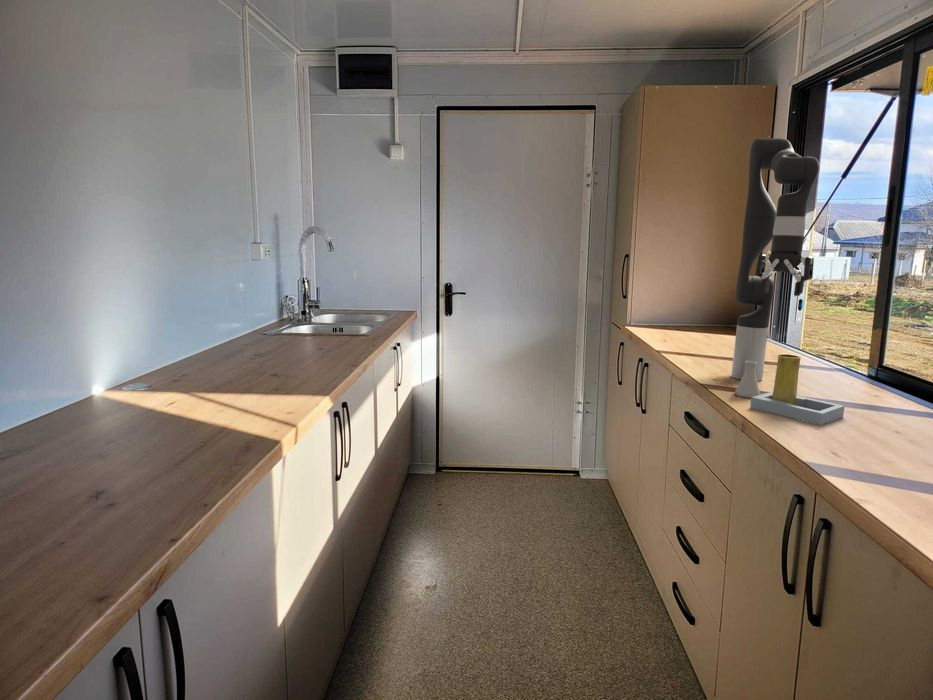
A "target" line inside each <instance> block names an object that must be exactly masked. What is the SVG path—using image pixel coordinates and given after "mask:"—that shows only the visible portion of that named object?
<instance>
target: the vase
mask: <svg viewBox="0 0 933 700" xmlns="http://www.w3.org/2000/svg"><path fill="white" fill-rule="evenodd" d="M800 364H801V356H799V355H796V354H792V353H779V354H778V357H777V363H776V369H775V370H776V371H775V379H774V384H773V390H772V392H773V395H772V399H773V400H778V401H782V402H786V403H791V405H795V404H796V395H797V394H798V393H797V392H798V383H799V372H800V371H799V370H800ZM797 396H798V395H797Z"/></svg>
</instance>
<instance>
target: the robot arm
mask: <svg viewBox="0 0 933 700" xmlns="http://www.w3.org/2000/svg"><path fill="white" fill-rule="evenodd" d="M748 164H749V168H748V187H747V198H746V204H745V205H746V206H745V211H744V219H743V231H742V243H741V244H742V245H741V246H742V247H741V256H740V263H739V269H738V275H737V280H736V286H735V301H736V302H737V305H738V304H740V305H746V306H747V305H751V306H758V308H756V310H754V311H752V312H750V313H746V314H742V315H739V316H738V318H737V321H736V331H735V340H734V349H733V358H732V367H731V374H730V375H731V376H730V377H731V378H733V379H737V380H740V381H741V379H742V377H743V375H744V371H745V367H746V364H745V361H753V362H757V364H756V366H755V374H756V379H757V382H760V381H762V380H763V376H764V369H765V359H766V352H767V351H766V350H767V343H768V342H767V341H768V333H769V325H770V317H771V310H772V304H773V300H774V294H775V280H774V278H773V277H772V276H773V275H774V274H775V273H777V272H778V273H779V272H783V273H791V274H790V275H792V276H793V277H794V279H795V280H796V281H795V283H794V291H793V296H794V297H795V296H796V297H799V296H801V294H803V291H804V284H805V282H806V281H810V280H812V279H813V276H814V264H815V263H814V262H815V261H814V260H815V259H814V257H813V256H806V257H803V256H802V253H803V247H804V245H803V244H804V240H805V239H804V238H805V230H806V215H807V208H808V207H807V206H808V202H809V198H810V195H811V193H812V189H813V187H814V186H815V185H814V184H815V183H816V180H817V178H818V176H819V173H820V169H821V165H820V162H819V160H818V159H817V158H816V157H815V156H814V157H813V156H801V155H799V154H798V153H797V152H795V150H794V148H793V146H792V143H791V142H790V141H789V140H788V139H786V138H777V137H776V138H775V137H774V138H772V137H770V138H769V137H768V138H766V137H765V138H756V139H754V140H753V142H752V144H751V146H750V152H749V162H748ZM762 170H767V171H768V170H771V171H773V176H774V177H773V178H774V180H775V182H776V183H777V184H780V185H792V186H795V185H800V186H799V189H797V191H794V192H790V193H785V194H782V195H780V196H779V197H778V200H777V207H776V205H775V203H774V202H773V201H772V199H771V196H770V195H769V193H768V191H767V190H766V188H765V185H764V182H763V177H762V176H763V175H762ZM770 243H771V249H770V251H771V253H770V255H766V254H761V253H763V251H764V250H765V248H766V247H767V246H768V245H769V244H770ZM756 260H757V264H756V269H755V275H751V270H752V268H753V265H754V263H755V262H756ZM768 262H769V263H770V265H769V266H768V268H767V269H766V264H768ZM800 264H802V265H803V266H804V268H803V269H804V271H803V272H802V269H801V268H800Z"/></svg>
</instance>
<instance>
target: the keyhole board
mask: <svg viewBox="0 0 933 700" xmlns="http://www.w3.org/2000/svg"><path fill="white" fill-rule="evenodd" d="M772 395H773V391H770V392H765V393H762V394H761V393H760V395H758V396H754V397H751V398H750V409H753V410H757V411H760V412H761V411H762V412H765V411H766V413H769V412H770V414H773V413H775V414H774V415H777V414H780V415H779V416H781V415H784V416H783V417H785V416H788V417H787V418H789V417H791V418H790V419H793V418H796V419H795V420H797V419H800V420H799V421H801V420H804V421H803V422H805V421H808V422H807V423H809V422H812V423H811V424H813V423H816V424H815V425H818V424H820V425H819V426H822V424H823V425H826V424H828V423H831V422H833V421H834V422H835V421H836V420H839V419H841V418H844V415H845V414H844V413H845V405H842V404H838V403H834V402H828V401H823V400H820V399H814V398H809V397H806V396H800V395H796V404H795V405H791V403H786V402H782V401H778V400H773V399H772ZM825 423H826V424H825Z"/></svg>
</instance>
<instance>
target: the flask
mask: <svg viewBox="0 0 933 700" xmlns="http://www.w3.org/2000/svg"><path fill="white" fill-rule="evenodd" d="M745 364H746V367H745V371H744V375H743V377H742V379H741V380H740V381H739V383H738V386H737V387H736V389H735V391H734V393H733V394H734V395H736V396H738V397H741V398H749V399H751V397H754V396H758V395H761V392H760V388H759V384H758V381H757V379H756V374H755V366H756V364H757V362H753V361H745Z"/></svg>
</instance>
